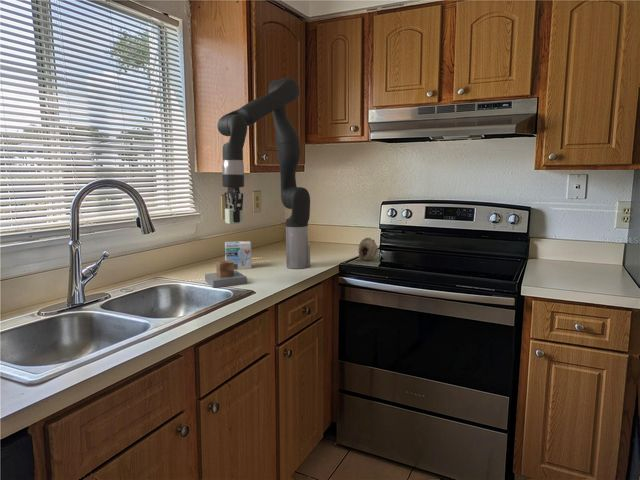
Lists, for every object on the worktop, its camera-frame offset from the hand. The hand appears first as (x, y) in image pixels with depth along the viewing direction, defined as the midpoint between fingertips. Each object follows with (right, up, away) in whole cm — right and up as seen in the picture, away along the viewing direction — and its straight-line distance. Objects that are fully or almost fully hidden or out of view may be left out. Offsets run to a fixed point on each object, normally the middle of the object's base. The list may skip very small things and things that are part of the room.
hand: (234, 221), depth 160 cm
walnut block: (-4, -19, +3) cm, 20 cm away
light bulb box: (-3, -18, +28) cm, 34 cm away
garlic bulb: (+52, -16, +43) cm, 69 cm away
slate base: (-4, -22, +4) cm, 22 cm away
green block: (0, -1, 0) cm, 0 cm away
